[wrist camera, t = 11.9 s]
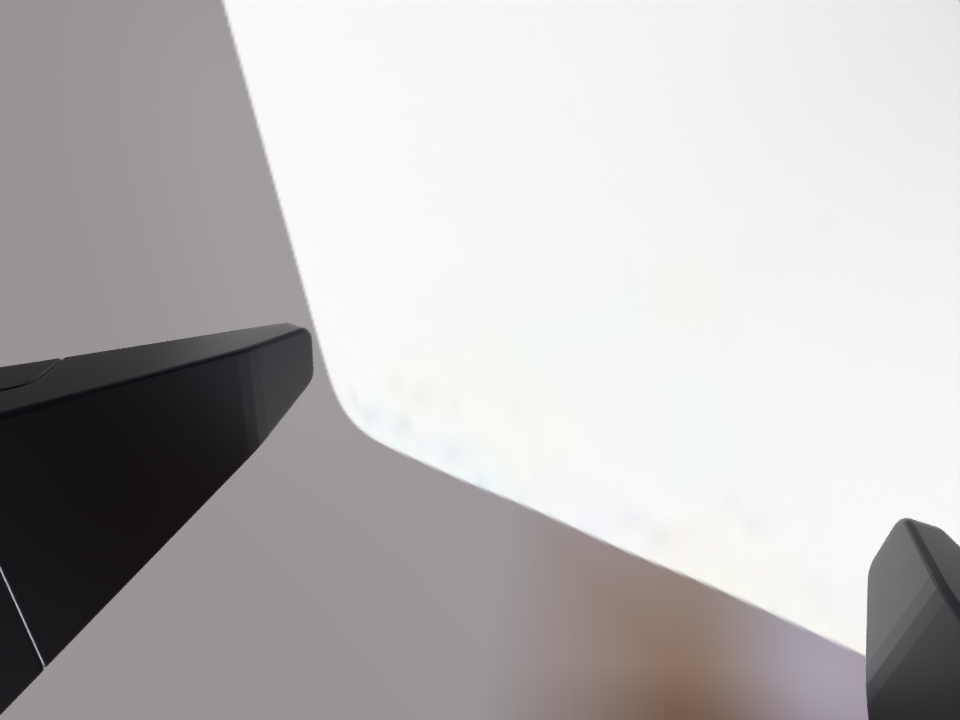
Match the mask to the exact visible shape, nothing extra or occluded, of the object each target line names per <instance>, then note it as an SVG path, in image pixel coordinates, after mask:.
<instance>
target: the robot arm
mask: <svg viewBox="0 0 960 720" xmlns="http://www.w3.org/2000/svg"><path fill="white" fill-rule="evenodd" d="M313 369H314V368H313V350H312V336H311V333H310V332H309V330H308V329H306V328H304V327H301V326H298V325H294V324H291V323H281V324H274V325H268V326H261V327H255V328H249V329H242V330H236V331H230V332H223V333H217V334H211V335H204V336H198V337H192V338H186V339H179V340H173V341H166V342H160V343H154V344H148V345H141V346H135V347H128V348H122V349H116V350H109V351H103V352H97V353H90V354H84V355H78V356H72V357H66V358H64V359H63V360H61V359H52V360H45V361H39V362H32V363H27V364H19V365H12V366H5V367H0V715H1V714H2V713H3V712H4V711H5V710H6V709H7V708H8V706H10V705H11V703H12V702H13V701H14V700H15V699H16V698H17V697H18V696H19V695H20V694H21V693H22V692H23V691H24V690H25V689H26V688H27V687H28V686H29V685H30V684H31V683H32V682H33V681H34V680H35V679H36V678H37V677H38V676H39V675H40V673H42V671H43V670H44V669H43V667H46V666H48V665H49V664H50V663H51V662H52V661H53V660H54V659H55V658H56V657H57V655H58V654H59V653H60V652H61V651H62V650H63V649H64V648H65V647H66V646H67V645H68V644H69V643H70V642H71V641H72V640H73V639H74V638H75V637H76V636H77V635H78V634H79V633H80V632H81V631H82V630H83V628H85V627H86V626H87V624H88V623H89V622H90V621H91V620H92V619H93V618H94V617H95V616H96V615H97V614H98V613H99V612H100V611H101V610H102V609H103V608H104V607H105V606H106V605H107V604H108V603H109V602H110V601H111V600H112V599H113V597H115V595H117V593H119V592H120V590H121V589H122V588H123V587H124V586H125V585H126V584H127V583H128V582H129V581H130V580H131V579H132V578H133V577H134V576H135V575H136V574H137V573H138V572H139V571H140V570H141V569H142V568H143V567H144V566H145V565H146V564H147V563H148V561H149V560H150V559H151V558H152V557H153V556H154V555H155V554H156V553H157V552H158V551H159V550H160V549H161V548H162V547H163V546H164V545H165V544H166V543H167V542H168V541H169V540H170V538H172V537H173V536H174V535H175V533H177V532H178V530H180V529H181V528H182V526H183V525H184V524H185V523H186V522H187V521H188V520H189V519H190V518H191V517H192V516H193V515H194V514H195V513H196V512H197V511H198V510H199V509H200V508H201V507H202V506H203V505H204V504H205V503H206V502H207V501H208V500H209V499H210V497H212V496H213V494H215V492H216V491H217V490H218V489H219V488H220V487H221V486H222V485H223V484H224V483H225V482H226V481H227V480H228V479H229V478H230V477H231V476H232V475H233V474H234V473H235V472H236V471H237V470H238V468H240V467H241V465H243V463H244V462H245V461H246V460H247V459H248V458H249V457H250V456H251V455H252V454H253V453H254V452H255V451H256V450H257V449H258V448H259V446H260V445H261V444H262V443H263V442H264V440H265V439H266V438H267V437H268V436H269V434H270V433H271V432H272V431H273V429H274V428H275V427H276V426H277V424H278V423H279V422H280V420H281V419H282V418H283V417H284V415H285V414H286V413H287V412H288V410H289V409H290V408H291V406H292V405H293V404H294V403H295V401H296V400H297V399H298V397H299V396H300V395H301V394H302V393H303V391H304V390H305V389H306V387H307V386H308V385H309V383H310V381H311V379H312V376H313ZM866 697H867V708H868V718H869V720H960V546H959V545H958V544H956V543H955V542H954V541H953V540H952V539H951V538H950V537H949V536H948V535H947V534H946V533H945V532H944V531H943V530H942V529H940V528H938V527H936V526H932V525H929V524H926V523H923V522H919V521H916V520H913V519H910V518H904V519H901V520H900V521H898V522H897V523H896V524H895V526H894V527H893V529H892V530H891V532H890V534H889V535H888V537H887V538H886V540H885V542H884V543H883V545H882V546H881V548H880V550H879V551H878V553H877V555H876V556H875V558H874V559H873V561H872V564H871V566H870V570H869V574H868V594H867V633H866Z"/></svg>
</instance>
